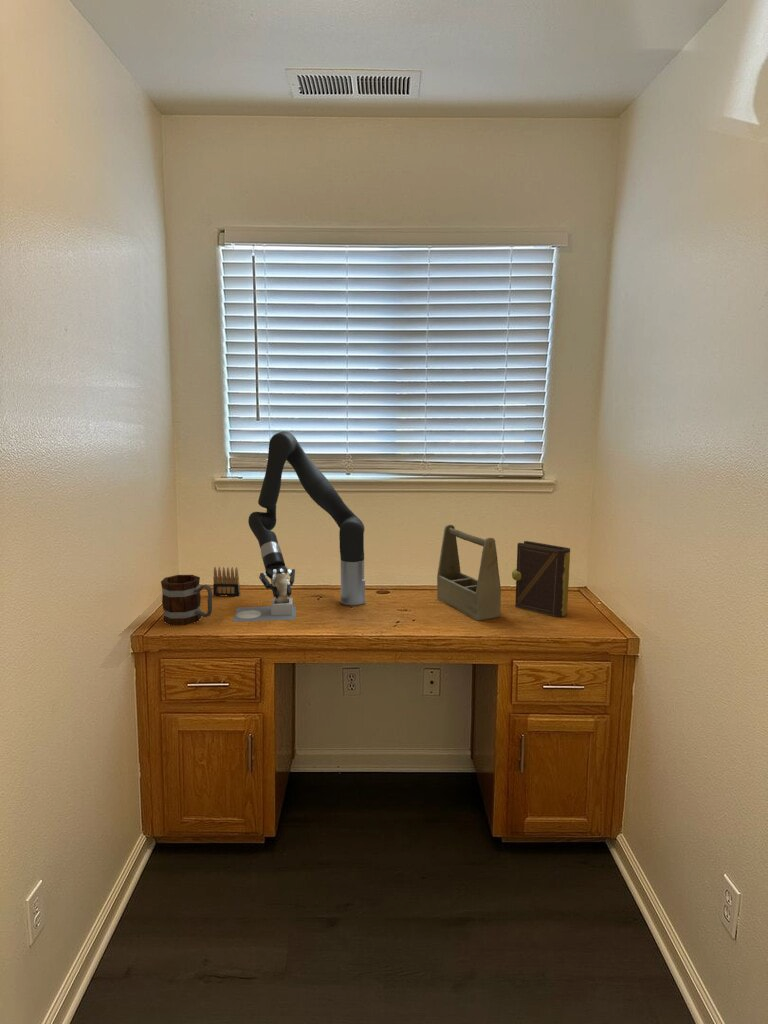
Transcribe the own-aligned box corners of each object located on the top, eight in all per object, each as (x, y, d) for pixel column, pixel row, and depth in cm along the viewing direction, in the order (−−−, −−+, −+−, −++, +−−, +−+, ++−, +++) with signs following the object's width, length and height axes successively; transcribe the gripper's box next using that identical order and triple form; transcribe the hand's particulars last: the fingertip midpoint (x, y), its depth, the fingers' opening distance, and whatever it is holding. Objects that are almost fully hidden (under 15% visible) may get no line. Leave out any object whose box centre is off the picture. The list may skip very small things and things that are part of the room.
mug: (154, 623, 235) (152, 582, 232) (178, 611, 247) (176, 573, 245) (201, 629, 228) (199, 588, 226) (223, 617, 241) (221, 577, 238)
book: (570, 613, 245) (573, 548, 241) (559, 619, 239) (562, 552, 235) (518, 601, 260) (521, 539, 256) (507, 606, 254) (509, 542, 250)
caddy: (436, 599, 263) (437, 525, 258) (459, 595, 267) (460, 523, 262) (476, 621, 237) (478, 539, 232) (501, 617, 241) (503, 537, 236)
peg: (287, 609, 245) (286, 573, 242) (287, 613, 241) (286, 576, 238) (276, 610, 244) (275, 573, 242) (276, 613, 240) (275, 576, 238)
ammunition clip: (240, 595, 268) (239, 566, 266) (239, 596, 266) (238, 567, 264) (214, 594, 269) (213, 566, 267) (213, 596, 267) (211, 567, 265)
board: (296, 609, 250) (295, 595, 249) (295, 623, 235) (295, 608, 234) (237, 611, 248) (236, 597, 247) (232, 625, 232) (232, 610, 231)
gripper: (255, 553, 242) (266, 593, 234) (292, 549, 249) (304, 588, 240) (252, 564, 248) (262, 604, 239) (288, 559, 254) (299, 598, 246)
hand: (283, 596), depth 240 cm, fingers closed on peg, 4 cm apart
